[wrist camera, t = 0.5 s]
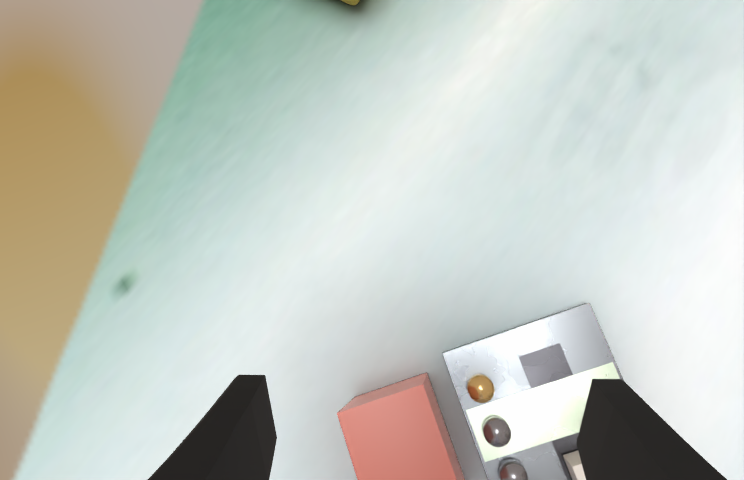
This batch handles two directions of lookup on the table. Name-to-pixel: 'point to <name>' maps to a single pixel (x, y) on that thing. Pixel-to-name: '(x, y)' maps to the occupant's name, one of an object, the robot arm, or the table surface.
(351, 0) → the flower pot
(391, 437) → the cap
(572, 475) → the block
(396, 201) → the table surface
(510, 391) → the panel
